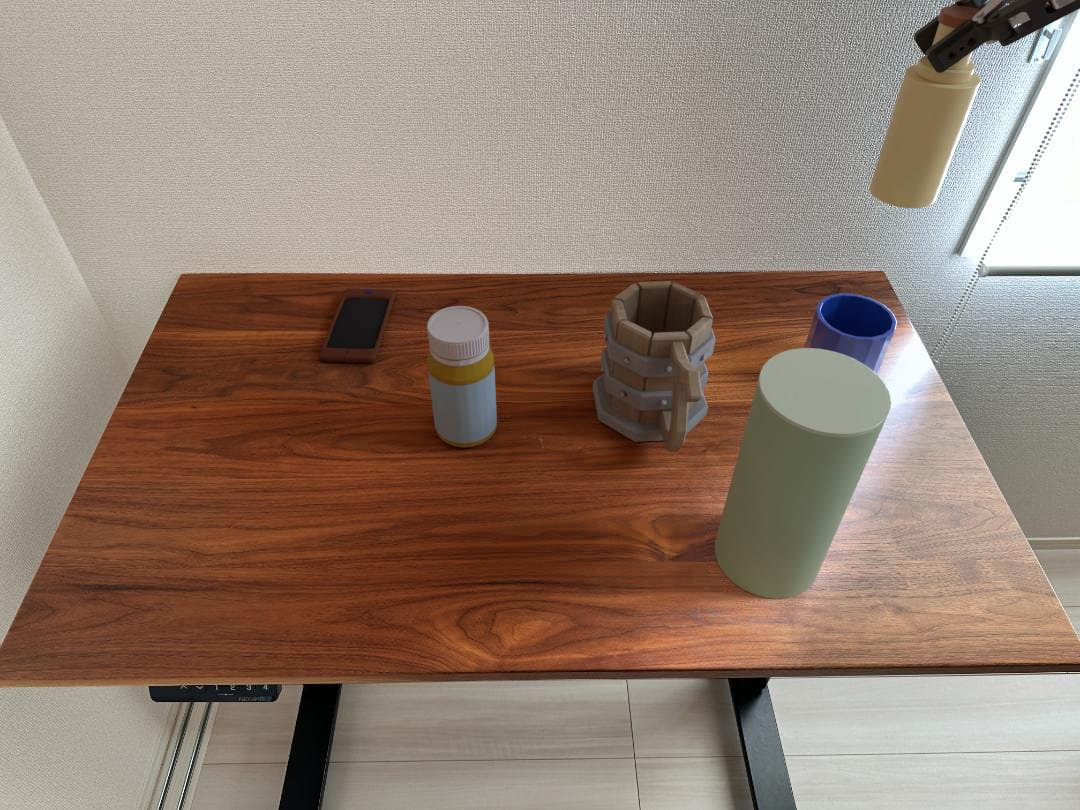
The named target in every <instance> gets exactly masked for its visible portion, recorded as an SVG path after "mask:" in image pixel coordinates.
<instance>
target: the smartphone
mask: <svg viewBox="0 0 1080 810" xmlns="http://www.w3.org/2000/svg"><path fill="white" fill-rule="evenodd" d="M396 293H397V292H396V291H395V290H393V289H378V288H377V289H375V288H373V289H372V288H345V290H344V291H343V294H342V295H341V298H340V301H339V303H338V306H337V307H336V308H337V309H336V310H335V313H334V315H333V318H332V320H331V323H330V326H329V328H328V331H327V333H326V336H325V339H324V341H323V343H322V347H321V348H320V352H319V354H318V361H320V362H327V363H329V362H330V363H353V364H354V363H356V364H373V363H374V362H376V359H377V356H378V353H379V350H380V348H381V347H380V346H381V344H382V341H383V338H384V337H383V336H384V333H385V330H386V328H387V324H388V320H389V317H390V314H391V311H392V307H393V306H394V301H395V298H396Z"/></svg>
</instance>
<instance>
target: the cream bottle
mask: <svg viewBox="0 0 1080 810" xmlns="http://www.w3.org/2000/svg"><path fill="white" fill-rule="evenodd" d="M980 10H981V9H978V8H973V7H967V6H951V5H948V6H944V7H942V8H941V9H940V11H939V14H940V15H939V14H938V15H939V18H938V21H939V22H940V23H939V26H938V29H937V32H936V35H935V38H934V41H933V44H932V46H933V45H934V44H935V43H937V42H938V41H940V40H941V39H942V38H944V37H945V36H946V35H948V34H949V33H951V32H952V31H953V30H955V29H956V28H957V27H959V26H960V25H961V24H963V23H964V22H966V21H967V20H968V19H969V20H970V21H971V23H974V22H973V20H972V19H973V17H974V16H975V15H976V14H977V13H978V12H979V11H980ZM973 52H974V51H972V52H971V53H970V54H968V55H967V56H965V57H964V58H963V59H961V60H960V61H958V62H957V63H956V64H954V65H953V66H951V67H950V68H948V69H947V70H946V71H944V72H942V73H938V72H936V71H935V69H934V68H933V66H932V65H931V63H930V62H929V60H928V59H927V57H926V55H924V56H922V57H920V59H919V61H918V63H916V64H912V65H911V66H908V67H907V69H905V73H904V76H903V79H902V82H901V86H900V88H899V92H898V95H897V98H896V101H895V104H894V107H893V111H892V114H891V117H890V119H889V124H888V126H887V130H886V133H885V136H884V140H883V142H882V146H881V149H880V152H879V154H878V155H879V156H878V158H877V162H876V165H875V168H874V172H873V175H872V178H871V181H870V183H869V191H870V194H871V195H872V196H873V197H874V198H875V199H877V200H878V201H881V202H883V203H884V204H887V205H890V206H894V207H898V208H903V209H922V208H927V207H930V206H931V205H933V204H934V203H935V202H936V201H937V198H938V195H939V193H940V190H941V188H942V185H943V182H944V179H945V177H946V174H947V172H948V169H949V166H950V163H951V161H952V159H953V155H954V153H955V150H956V148H957V146H958V142H959V140H960V138H961V135H962V132H963V129H964V127H965V124H966V122H967V119H968V116H969V115H970V114H969V113H970V111H971V108H972V106H973V103H974V100H975V98H976V96H977V93H978V91H979V87H980V85H981V81H982V80H981V77H980V76H979V75H978V74H977V73H976V72H975V69H976V66H975V64H974V63H973V62H972V61H970V60H971V57H972V55H973Z"/></svg>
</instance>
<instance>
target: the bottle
mask: <svg viewBox="0 0 1080 810" xmlns="http://www.w3.org/2000/svg"><path fill="white" fill-rule="evenodd" d="M426 330H427V340H428V345H429V351H428V355H427V358H426V359H427V361H426V362H427V363H426V365H427V372H428V373H427V374H428V382H429V390H430V391H429V392H430V398H431V406H432V415H433V423H434V428H435V429H434V430H435V432H436V434H437V436H438V438H440V439H441V441H443V442H444V443H446V444H448V445H450V446H453V447H456V448H461V449H465V448H466V449H467V448H474V447H477V446H480V445H482V444H483V443H485V442H487V441H488V440H490V438H491V437H493V436H494V434H495V432H496V431H497V427H498V415H497V413H498V412H497V391H496V370H495V356H494V352H493V351H492V348H491V346H490V328H489V320H488V318H487V317H486V314H484V313H483V312H482V311H481V310H479V309H477V308H474V307H471V306H465V305H453V306H452V305H451V306H447V307H444V308H442V309H440V310H438V311H436V312H434V313H433V314H432V315H431V316H430V318H429V319H428V320H427V325H426Z"/></svg>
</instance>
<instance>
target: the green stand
mask: <svg viewBox="0 0 1080 810" xmlns="http://www.w3.org/2000/svg"><path fill="white" fill-rule="evenodd" d="M755 386H756V387H755V390H754V394H753V398H752V402H751V405H750V409H749V412H748V415H747V416H748V417H747V419H746V424H745V428H744V431H743V436H742V439H741V443H740V446H739V450H738V453H737V458H736V461H735V465H734V469H733V473H732V475H731V480H730V484H729V487H728V491H727V495H726V499H725V502H724V506H723V510H722V513H721V517H720V522H719V525H718V528H717V533H716V535H715V540H714V555H715V558H716V562H717V564H718V566H719V567H720V569H721V571H722V572H723V574H724V575H725V576H726V577H727V578H728V580H730V581H731V582H732V583H733V584H735V585H736V586H737V587H739V588H741V589H742V590H743V591H746V592H747V593H750V594H752V595H755V596H758V597H762V598H765V599H766V598H767V599H777V600H778V599H780V600H782V599H790V598H793V597H796V596H798V595H801V594H802V593H804V592H806V591H807V590H808V589H809V588H810V587H812V585H813V584H814V583H815V581H816V580H817V577H818V575H819V573H820V570H821V568H822V566H823V565H824V564H823V563H824V561H825V559H826V557H827V555H828V552H829V550H830V548H831V545H832V543H833V541H834V538H835V536H836V534H837V532H838V529H839V527H840V525H841V523H842V520H843V518H844V516H845V514H846V512H847V509H848V507H849V505H850V503H851V499H852V498H853V495H854V493H855V491H856V488H857V486H858V484H859V482H860V480H861V477H862V476H863V472H864V470H865V468H866V466H867V463H868V462H869V459H870V457H871V454H872V453H873V450H874V447H875V445H876V443H877V441H878V439H879V437H880V434H881V432H882V430H883V427H884V426H885V425H884V424H885V423H886V421H887V417H888V416H889V413H890V410H891V407H892V406H891V405H892V400H891V399H892V397H891V394H890V390H889V388H888V387H887V385H886V384H885V382H884V380H883V379H882V378H881V377H880V376H879V375H878V373H877V374H876V373H875V372H874V371H873V370H871V369H870V368H869V367H867V366H866V365H864V364H863V363H861V362H859V361H857V360H855V359H853V358H851V357H849V356H846V355H844V354H840V353H837V352H834V351H829V350H824V349H816V348H804V347H803V348H802V347H801V348H800V347H799V348H793V349H788V350H785V351H781V352H779V353H777V354H775V355H773V356H771V358H769V359H768V360H767V361H766V362H765V363H764V364H763V366H762V367H761V369H760V371H759V375H758V380H757V382H756V385H755Z"/></svg>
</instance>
